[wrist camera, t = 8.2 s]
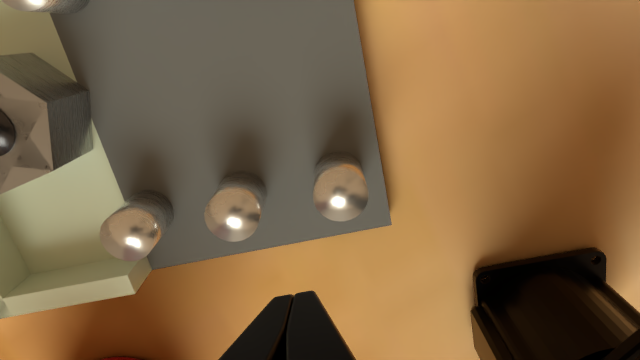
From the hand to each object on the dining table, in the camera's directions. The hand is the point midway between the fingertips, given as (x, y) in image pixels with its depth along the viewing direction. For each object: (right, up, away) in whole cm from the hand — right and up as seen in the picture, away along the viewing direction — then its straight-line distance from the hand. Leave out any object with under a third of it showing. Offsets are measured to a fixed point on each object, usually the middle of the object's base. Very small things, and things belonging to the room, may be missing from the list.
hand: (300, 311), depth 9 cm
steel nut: (-12, +6, +10) cm, 16 cm away
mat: (-4, +7, +10) cm, 13 cm away
